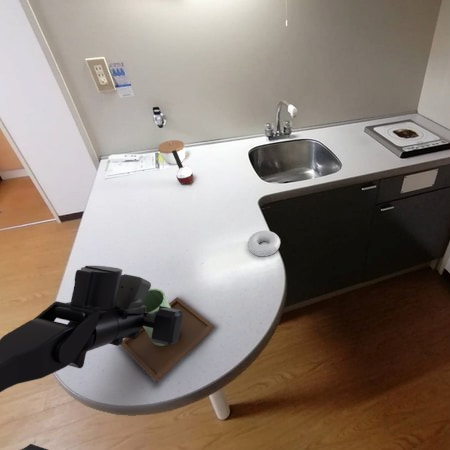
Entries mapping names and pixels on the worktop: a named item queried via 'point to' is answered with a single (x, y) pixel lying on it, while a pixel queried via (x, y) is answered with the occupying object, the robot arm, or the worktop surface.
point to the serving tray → (167, 355)
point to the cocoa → (182, 171)
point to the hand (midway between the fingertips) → (160, 311)
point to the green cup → (154, 306)
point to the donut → (263, 249)
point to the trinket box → (170, 146)
